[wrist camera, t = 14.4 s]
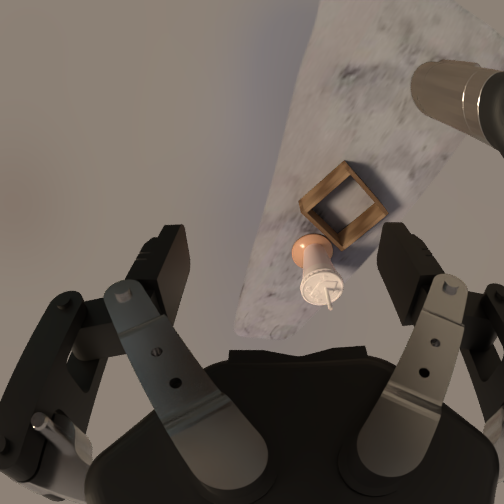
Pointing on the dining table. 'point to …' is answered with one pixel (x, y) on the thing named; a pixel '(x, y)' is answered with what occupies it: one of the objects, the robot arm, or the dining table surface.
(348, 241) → the caddy
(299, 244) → the coaster
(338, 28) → the dining table surface
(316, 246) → the smoothie
